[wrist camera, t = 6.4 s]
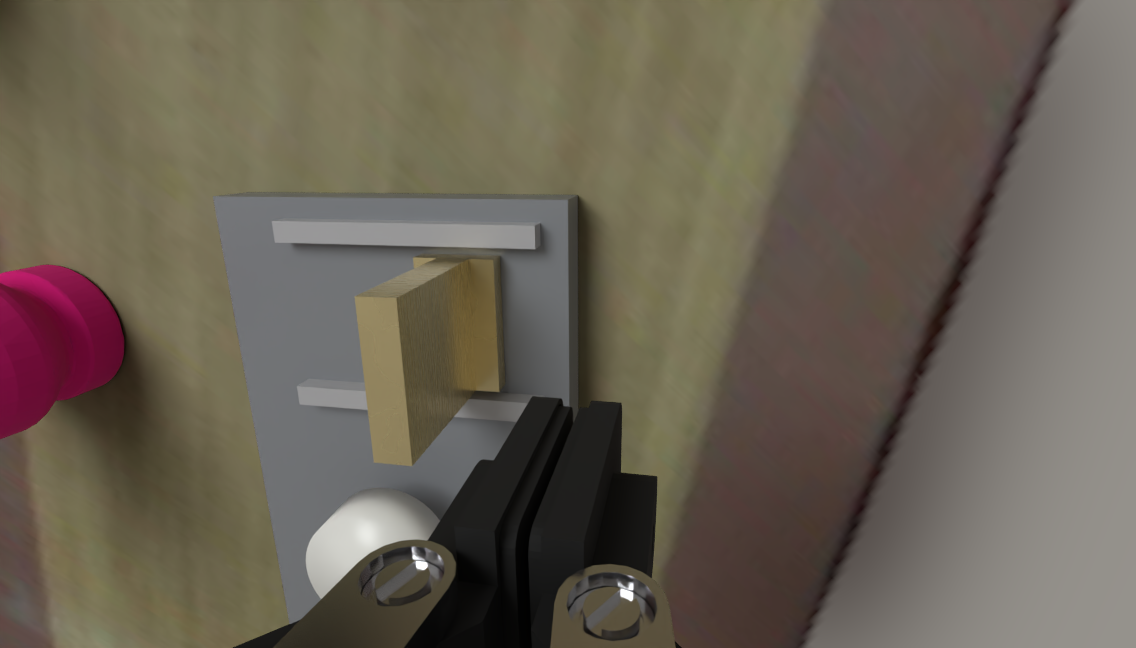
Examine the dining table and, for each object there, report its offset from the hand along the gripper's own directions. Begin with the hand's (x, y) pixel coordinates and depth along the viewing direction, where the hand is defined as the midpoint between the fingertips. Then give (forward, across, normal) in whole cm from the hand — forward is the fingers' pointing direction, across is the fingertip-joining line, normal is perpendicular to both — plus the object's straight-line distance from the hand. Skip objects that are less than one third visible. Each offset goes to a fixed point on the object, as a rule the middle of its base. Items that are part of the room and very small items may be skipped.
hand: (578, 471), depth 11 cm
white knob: (+9, +9, +10) cm, 16 cm away
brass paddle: (+11, +6, +1) cm, 12 cm away
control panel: (+12, +9, +10) cm, 18 cm away
